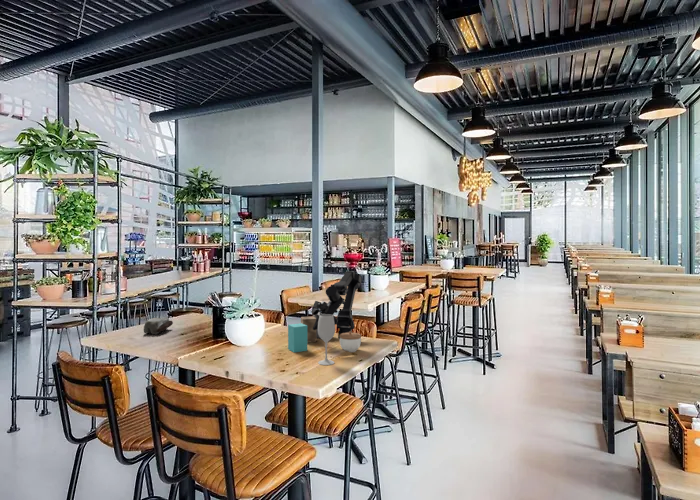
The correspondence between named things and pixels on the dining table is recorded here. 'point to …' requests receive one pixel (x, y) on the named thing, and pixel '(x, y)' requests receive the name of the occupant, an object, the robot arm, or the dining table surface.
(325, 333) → the wineglass
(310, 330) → the walnut block
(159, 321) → the rock
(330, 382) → the dining table surface
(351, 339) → the lidded jar
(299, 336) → the teal block
